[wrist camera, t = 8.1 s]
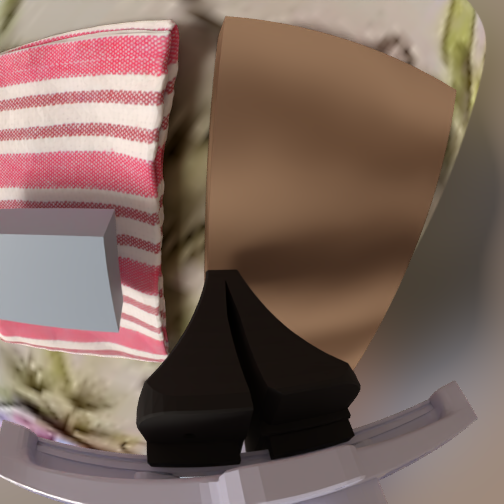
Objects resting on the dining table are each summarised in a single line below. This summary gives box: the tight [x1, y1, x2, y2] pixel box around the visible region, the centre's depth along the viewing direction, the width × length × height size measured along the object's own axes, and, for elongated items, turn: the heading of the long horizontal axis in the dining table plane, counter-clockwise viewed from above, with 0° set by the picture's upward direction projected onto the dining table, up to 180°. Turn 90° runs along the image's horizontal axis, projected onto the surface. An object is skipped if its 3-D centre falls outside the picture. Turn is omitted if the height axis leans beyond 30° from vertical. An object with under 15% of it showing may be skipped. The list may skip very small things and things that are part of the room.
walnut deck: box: [204, 16, 456, 370], centre depth 16 cm, size 22×12×4 cm, turn 174°
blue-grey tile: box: [0, 208, 123, 333], centre depth 11 cm, size 6×9×2 cm, turn 79°
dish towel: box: [0, 20, 179, 362], centre depth 13 cm, size 17×23×4 cm
